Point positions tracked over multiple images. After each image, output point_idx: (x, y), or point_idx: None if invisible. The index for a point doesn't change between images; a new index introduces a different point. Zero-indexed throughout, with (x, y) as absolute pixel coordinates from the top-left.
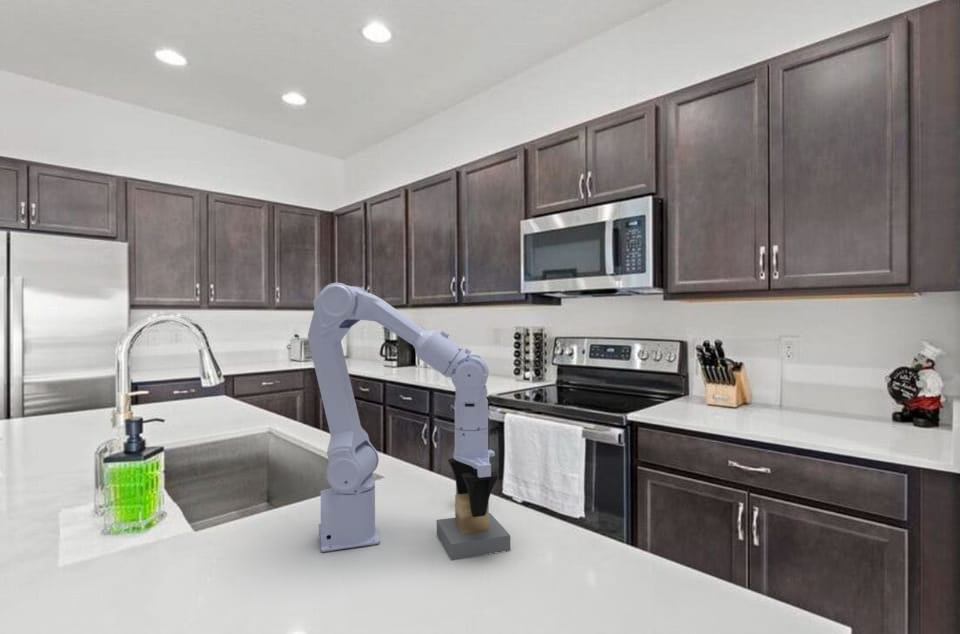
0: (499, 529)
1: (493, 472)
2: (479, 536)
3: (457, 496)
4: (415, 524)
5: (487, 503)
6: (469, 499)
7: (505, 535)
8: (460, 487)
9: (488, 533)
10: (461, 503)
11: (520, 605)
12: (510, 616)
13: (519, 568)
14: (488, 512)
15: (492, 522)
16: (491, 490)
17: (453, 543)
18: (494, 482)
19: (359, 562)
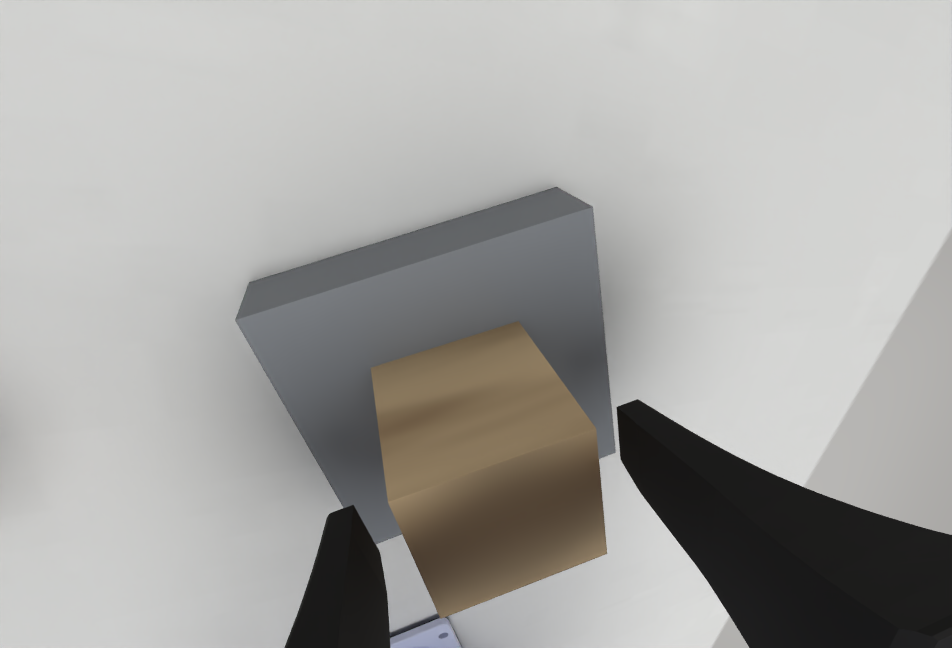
0: (507, 264)
1: (948, 644)
2: (573, 359)
3: (474, 601)
4: (264, 581)
5: (700, 438)
6: (690, 553)
7: (587, 234)
8: (386, 642)
9: (546, 320)
10: (593, 557)
11: (901, 190)
12: (924, 226)
13: (712, 162)
14: (557, 378)
15: (404, 303)
16: (814, 492)
17: (612, 446)
18: (944, 539)
19: (543, 609)
